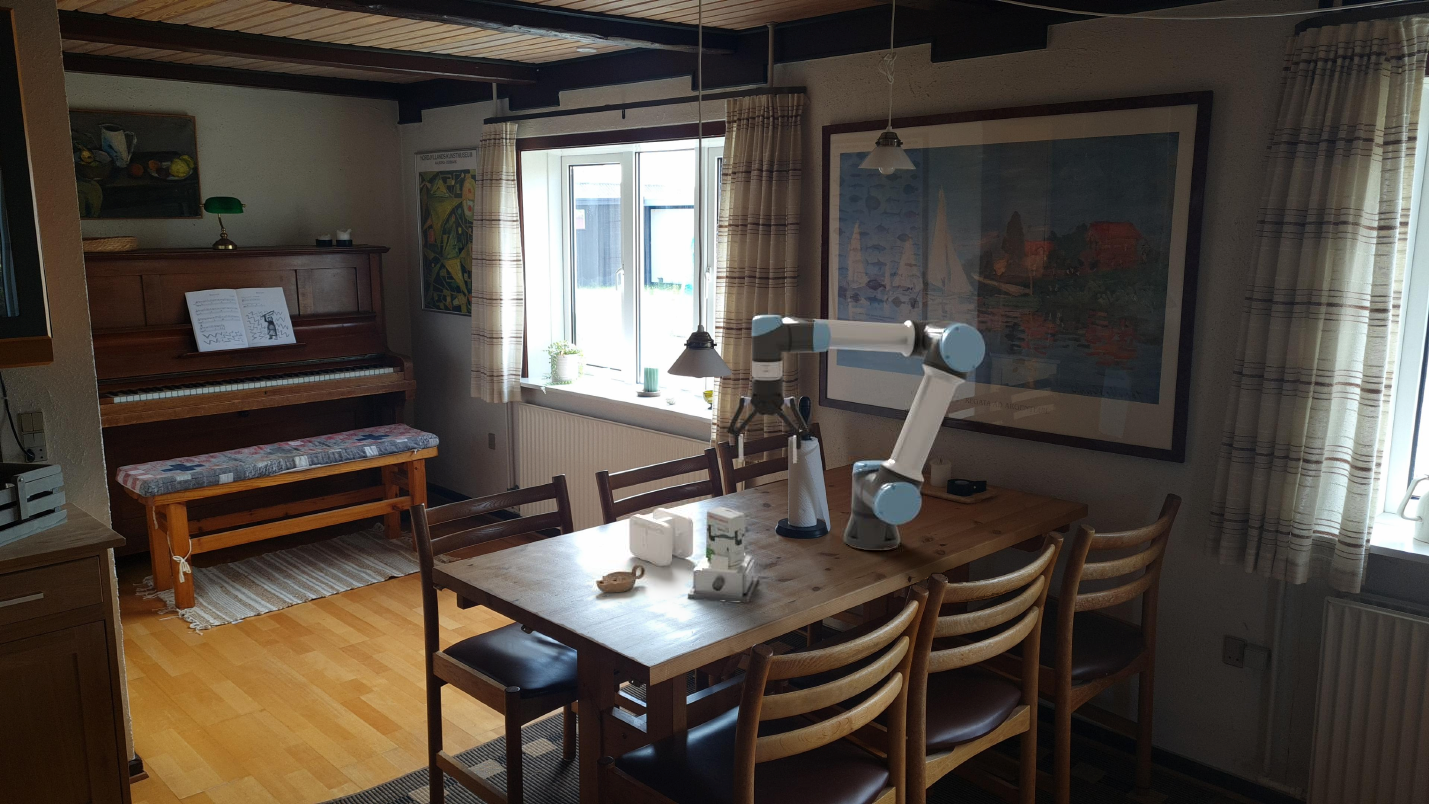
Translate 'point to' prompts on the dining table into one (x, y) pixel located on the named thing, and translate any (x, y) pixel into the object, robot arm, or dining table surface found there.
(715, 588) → the white boxy piece
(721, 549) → the ink box
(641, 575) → the oil lamp
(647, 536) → the cable organizer
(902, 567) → the dining table surface
